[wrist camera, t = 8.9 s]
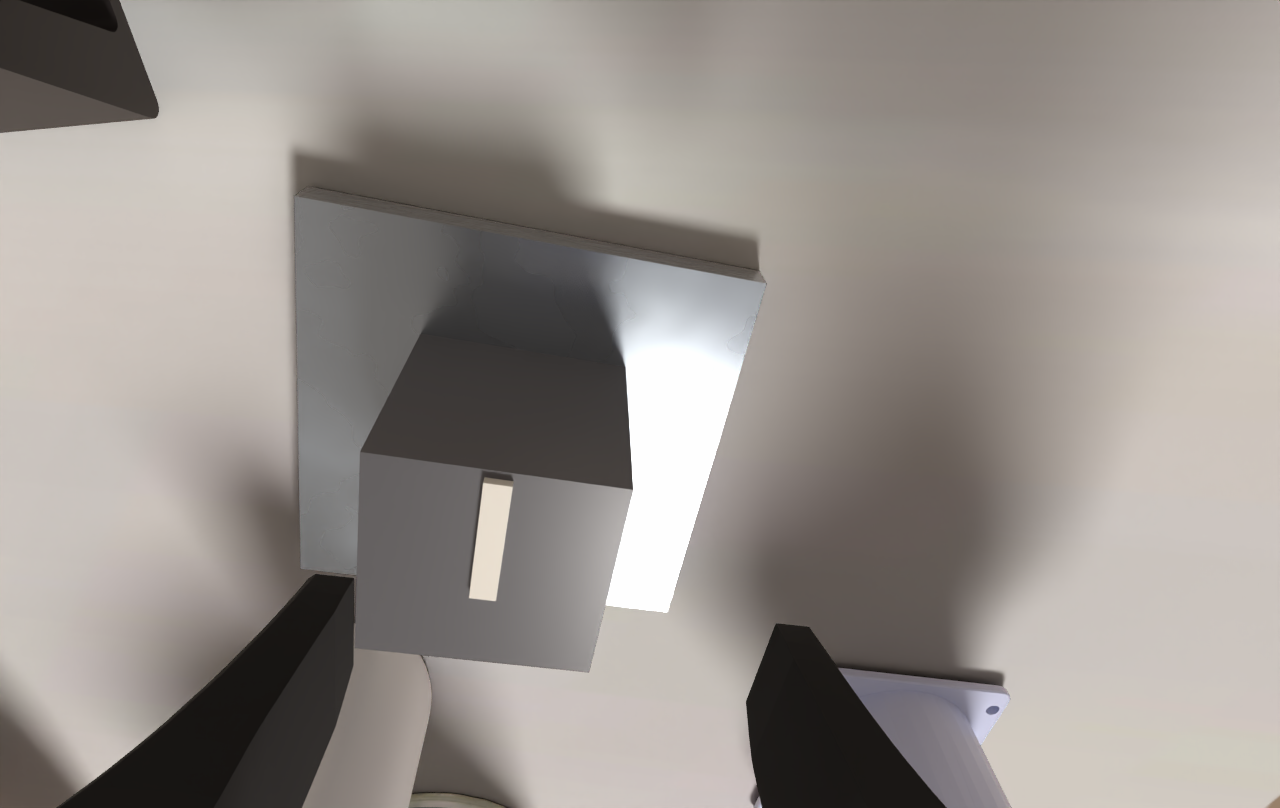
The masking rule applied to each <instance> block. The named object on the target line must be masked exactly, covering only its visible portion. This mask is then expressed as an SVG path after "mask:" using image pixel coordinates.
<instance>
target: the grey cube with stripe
mask: <svg viewBox="0 0 1280 808" xmlns="http://www.w3.org/2000/svg"><path fill="white" fill-rule="evenodd" d="M633 491H634V487H633V471H632V456H631V441H630V426H629V411H628V395H627V380H626V367H624V366H618V365H612V364H606V363H599V362H593V361H587V360H581V359H575V358H569V357H562V356H556V355H550V354H544V353H538V352H531V351H525V350H519V349H513V348H507V347H501V346H494V345H488V344H482V343H476V342H470V341H464V340H457V339H451V338H445V337H439V336H433V335H426V334H420V336H419V338H418V340H417V341H416V343H415V345H414V347H413V349H412V351H411V353H410V355H409V357H408V359H407V361H406V363H405V365H404V367H403V369H402V371H401V373H400V375H399V377H398V379H397V381H396V382H395V384H394V386H393V388H392V390H391V392H390V394H389V396H388V398H387V400H386V402H385V404H384V406H383V408H382V410H381V412H380V414H379V416H378V418H377V420H376V422H375V423H374V425H373V427H372V429H371V431H370V433H369V435H368V437H367V439H366V441H365V443H364V445H363V447H362V449H361V451H360V468H359V505H358V542H357V580H356V617H355V648H357V649H367V650H376V651H386V652H396V653H405V654H415V655H425V656H434V657H444V658H454V659H463V660H473V661H483V662H492V663H502V664H511V665H521V666H531V667H540V668H550V669H560V670H569V671H579V672H589V671H590V667H591V663H592V659H593V655H594V651H595V647H596V643H597V638H598V634H599V630H600V626H601V622H602V618H603V614H604V610H605V606H606V602H607V597H608V593H609V589H610V585H611V581H612V577H613V573H614V569H615V565H616V561H617V556H618V552H619V548H620V544H621V540H622V536H623V532H624V528H625V524H626V520H627V515H628V511H629V507H630V503H631V499H632V495H633Z"/></svg>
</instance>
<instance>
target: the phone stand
mask: <svg viewBox="0 0 1280 808" xmlns="http://www.w3.org/2000/svg"><path fill="white" fill-rule="evenodd" d="M158 112H159V107H158V102H157V99H156V97H155V94H154V91H153V89H152V86H151V83H150V81H149V78H148V75H147V73H146V70H145V67H144V65H143V62H142V59H141V57H140V54H139V51H138V49H137V46H136V43H135V41H134V38H133V35H132V33H131V30H130V27H129V25H128V22H127V19H126V17H125V14H124V11H123V9H122V6H121V3H120V1H119V0H0V133H3V132H14V131H25V130H35V129H46V128H57V127H67V126H78V125H89V124H100V123H110V122H121V121H132V120H142V119H153V118H156V117H157V116H158Z"/></svg>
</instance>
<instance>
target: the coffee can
mask: <svg viewBox="0 0 1280 808" xmlns="http://www.w3.org/2000/svg"><path fill="white" fill-rule="evenodd" d="M408 808H506V807H504V806H501V805H499V804H496V803H493V802H491V801H488V800H485V799H479V798H473V797H469V796H465V795H459V794H451V793H420V794H411V799H410V803H409V807H408Z"/></svg>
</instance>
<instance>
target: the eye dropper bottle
mask: <svg viewBox="0 0 1280 808" xmlns="http://www.w3.org/2000/svg"><path fill="white" fill-rule="evenodd" d="M431 701H432V691H431V683H430V678H429V674H428V671H427V668H426V666H425V664H424V661H423V660H422V658H421V656H420V655H415V654H405V653H396V652H386V651H376V650H367V649H357V648H355V623H354V666H353V669H352V673H351V676H350V680H349V683H348V687H347V690H346V694H345V697H344V700H343V704H342V707H341V710H340V714H339V717H338V720H337V724H336V727H335V729H334V732H333V734H332V737H331V739H330V742H329V744H328V746H327V749H326V751H325V754H324V756H323V759H322V761H321V763H320V766H319V768H318V771H317V773H316V776H315V778H314V780H313V783H312V785H311V787H310V790H309V792H308V795H307V797H306V799H305V802H304V804H303V807H302V808H408V807H409V803H410V799H411V794H412V790H413V786H414V781H415V777H416V773H417V769H418V764H419V760H420V756H421V751H422V747H423V743H424V739H425V734H426V730H427V726H428V721H429V717H430V711H431Z"/></svg>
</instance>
